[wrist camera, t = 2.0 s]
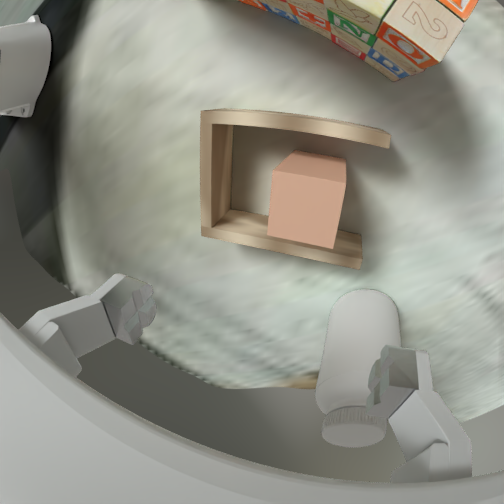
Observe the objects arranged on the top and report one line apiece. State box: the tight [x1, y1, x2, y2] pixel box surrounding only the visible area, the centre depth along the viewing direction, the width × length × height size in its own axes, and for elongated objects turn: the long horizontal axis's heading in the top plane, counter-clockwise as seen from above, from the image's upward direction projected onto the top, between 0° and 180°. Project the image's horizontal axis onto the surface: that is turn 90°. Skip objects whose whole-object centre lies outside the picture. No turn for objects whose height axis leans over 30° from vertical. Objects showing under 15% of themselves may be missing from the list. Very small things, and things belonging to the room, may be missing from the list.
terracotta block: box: [267, 150, 346, 249], centre depth 21 cm, size 4×4×8 cm
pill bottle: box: [315, 289, 401, 447], centre depth 23 cm, size 8×8×15 cm
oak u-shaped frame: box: [200, 108, 391, 270], centre depth 22 cm, size 14×11×4 cm
